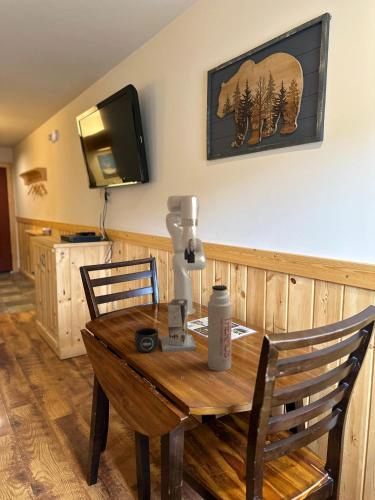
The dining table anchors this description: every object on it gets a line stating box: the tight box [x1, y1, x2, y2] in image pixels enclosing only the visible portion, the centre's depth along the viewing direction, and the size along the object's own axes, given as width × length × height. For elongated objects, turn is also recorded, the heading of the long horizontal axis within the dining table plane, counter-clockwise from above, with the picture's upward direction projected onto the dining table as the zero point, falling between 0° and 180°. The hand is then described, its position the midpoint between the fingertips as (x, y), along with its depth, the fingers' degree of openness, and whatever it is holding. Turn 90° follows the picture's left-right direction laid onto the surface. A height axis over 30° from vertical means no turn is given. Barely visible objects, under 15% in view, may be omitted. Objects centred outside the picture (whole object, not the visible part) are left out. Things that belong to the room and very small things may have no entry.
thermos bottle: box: [207, 284, 232, 372], centre depth 117 cm, size 8×8×28 cm
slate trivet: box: [159, 334, 197, 353], centre depth 138 cm, size 13×13×1 cm
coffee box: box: [167, 299, 189, 346], centre depth 137 cm, size 9×6×16 cm
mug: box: [134, 327, 159, 353], centre depth 134 cm, size 12×9×7 cm
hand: (189, 261), depth 155 cm, fingers open, 9 cm apart
